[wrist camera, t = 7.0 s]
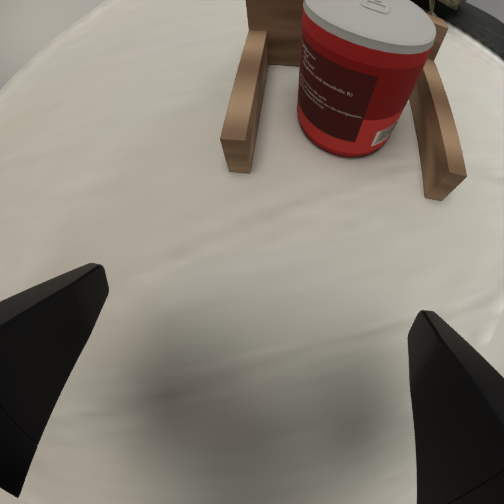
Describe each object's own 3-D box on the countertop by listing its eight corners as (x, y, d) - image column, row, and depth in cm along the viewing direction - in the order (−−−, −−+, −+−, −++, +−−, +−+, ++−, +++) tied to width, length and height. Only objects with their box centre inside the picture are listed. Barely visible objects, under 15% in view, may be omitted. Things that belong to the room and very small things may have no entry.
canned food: (386, 96, 22) (422, -3, 12) (391, 170, 21) (453, 64, 10) (301, 79, 23) (307, -29, 13) (290, 151, 21) (297, 25, 11)
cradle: (441, 200, 20) (498, 145, 12) (229, 171, 21) (207, 94, 14) (417, 79, 23) (443, 19, 15) (254, 54, 25) (247, -15, 17)
